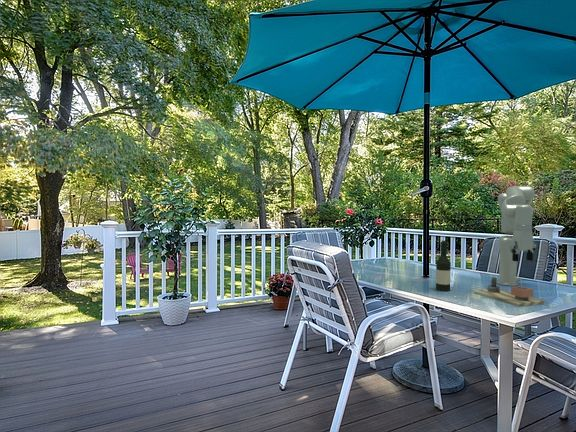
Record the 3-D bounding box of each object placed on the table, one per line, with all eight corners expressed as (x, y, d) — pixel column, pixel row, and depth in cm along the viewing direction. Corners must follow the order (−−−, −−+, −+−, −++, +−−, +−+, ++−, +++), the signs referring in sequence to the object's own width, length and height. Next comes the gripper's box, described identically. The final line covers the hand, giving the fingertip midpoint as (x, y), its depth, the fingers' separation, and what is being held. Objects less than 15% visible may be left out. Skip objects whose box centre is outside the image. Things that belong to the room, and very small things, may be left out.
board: (497, 290, 221) (497, 275, 221) (545, 303, 192) (545, 285, 192) (473, 292, 216) (473, 276, 216) (518, 306, 187) (518, 287, 187)
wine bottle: (440, 287, 229) (440, 239, 228) (453, 290, 222) (454, 240, 221) (432, 289, 224) (433, 240, 223) (446, 292, 217) (446, 241, 216)
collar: (521, 293, 200) (521, 286, 200) (532, 296, 193) (533, 289, 193) (510, 294, 198) (511, 287, 198) (522, 297, 191) (522, 290, 191)
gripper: (529, 227, 200) (528, 259, 201) (504, 228, 195) (503, 260, 196) (542, 228, 193) (541, 261, 194) (516, 229, 188) (516, 262, 189)
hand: (522, 260), depth 195 cm, fingers open, 9 cm apart
